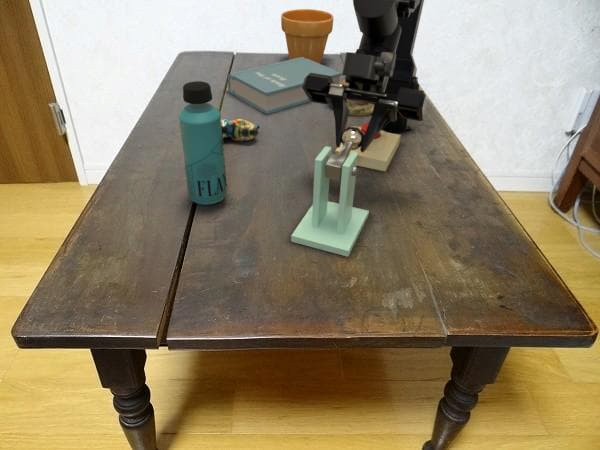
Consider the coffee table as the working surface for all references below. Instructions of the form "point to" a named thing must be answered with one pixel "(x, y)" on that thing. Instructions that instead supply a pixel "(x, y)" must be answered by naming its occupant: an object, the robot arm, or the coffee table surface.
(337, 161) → the lever
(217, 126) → the beverage bottle
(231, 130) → the figurine
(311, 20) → the flower pot
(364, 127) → the button
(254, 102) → the book
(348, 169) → the bracket
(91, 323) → the coffee table surface
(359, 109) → the ceramic model
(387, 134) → the button block
